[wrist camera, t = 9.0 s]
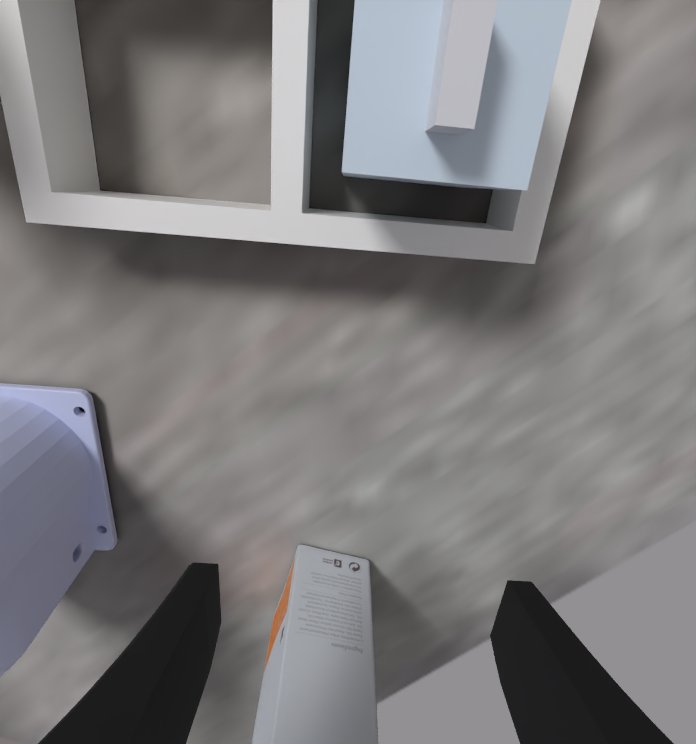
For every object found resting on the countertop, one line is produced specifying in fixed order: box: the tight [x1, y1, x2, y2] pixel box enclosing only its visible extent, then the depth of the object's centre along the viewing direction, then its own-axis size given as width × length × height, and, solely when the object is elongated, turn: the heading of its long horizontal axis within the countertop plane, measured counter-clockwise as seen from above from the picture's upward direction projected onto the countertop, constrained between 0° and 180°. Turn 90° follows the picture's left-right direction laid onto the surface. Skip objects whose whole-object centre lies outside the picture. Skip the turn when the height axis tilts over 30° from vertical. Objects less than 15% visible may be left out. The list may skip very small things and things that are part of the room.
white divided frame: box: [0, 0, 600, 264], centre depth 14 cm, size 10×17×3 cm, turn 85°
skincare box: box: [252, 545, 378, 744], centre depth 20 cm, size 6×4×12 cm
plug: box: [342, 0, 572, 191], centre depth 12 cm, size 4×4×8 cm
